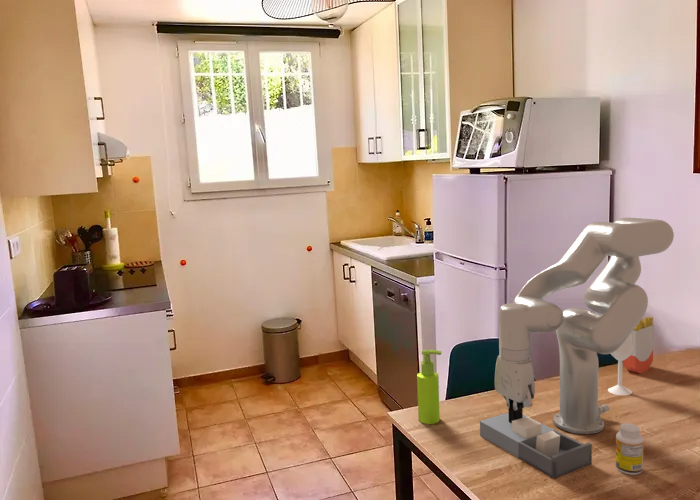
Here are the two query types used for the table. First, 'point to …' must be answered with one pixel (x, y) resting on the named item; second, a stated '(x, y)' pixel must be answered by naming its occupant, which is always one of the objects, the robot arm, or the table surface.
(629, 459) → the supplement bottle
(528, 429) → the rear tile
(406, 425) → the table surface
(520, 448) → the box
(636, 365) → the french fries container
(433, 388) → the soap dispenser
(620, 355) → the champagne flute
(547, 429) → the grey box sleeve
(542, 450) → the front tile
